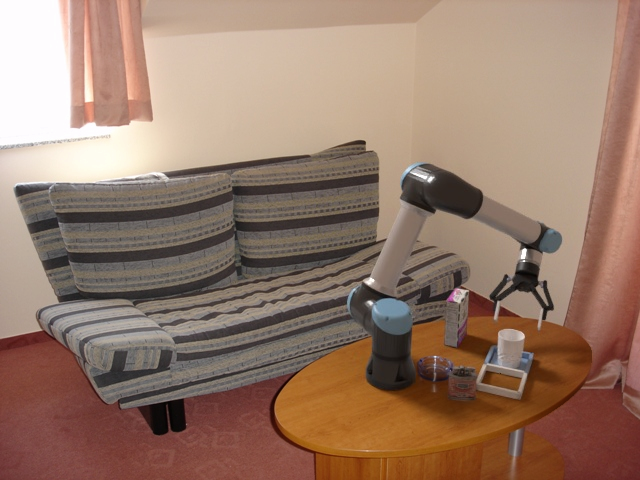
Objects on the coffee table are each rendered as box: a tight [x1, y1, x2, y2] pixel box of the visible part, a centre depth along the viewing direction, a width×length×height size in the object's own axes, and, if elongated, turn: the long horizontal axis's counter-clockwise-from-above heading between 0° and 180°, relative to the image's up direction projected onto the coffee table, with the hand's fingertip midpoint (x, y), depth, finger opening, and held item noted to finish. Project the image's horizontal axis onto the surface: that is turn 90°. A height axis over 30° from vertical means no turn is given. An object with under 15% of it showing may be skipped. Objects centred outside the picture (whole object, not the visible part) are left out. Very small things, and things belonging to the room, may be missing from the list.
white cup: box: [497, 328, 526, 369], centre depth 199 cm, size 8×8×10 cm
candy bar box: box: [443, 287, 470, 348], centre depth 213 cm, size 11×5×16 cm, turn 153°
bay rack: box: [476, 344, 535, 401], centre depth 195 cm, size 13×25×2 cm, turn 155°
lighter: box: [446, 364, 479, 402], centre depth 182 cm, size 8×3×10 cm, turn 82°
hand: (516, 325), depth 207 cm, fingers open, 13 cm apart
